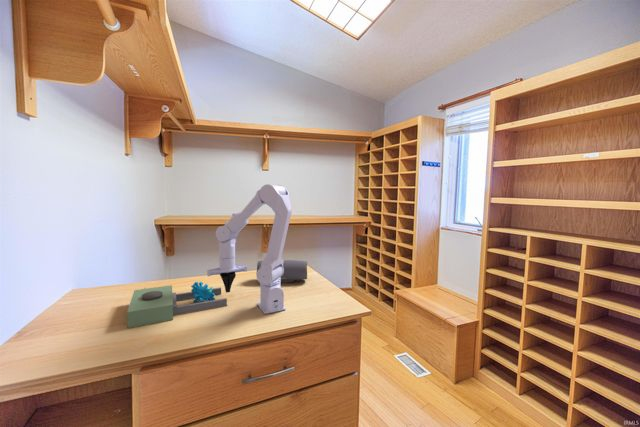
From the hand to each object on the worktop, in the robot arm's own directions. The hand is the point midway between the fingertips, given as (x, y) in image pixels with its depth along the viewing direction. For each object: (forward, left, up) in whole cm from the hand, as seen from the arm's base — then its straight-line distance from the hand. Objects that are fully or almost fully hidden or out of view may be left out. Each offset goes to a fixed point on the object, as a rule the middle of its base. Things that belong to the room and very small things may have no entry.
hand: (227, 291), depth 105 cm
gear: (+1, +8, -3) cm, 9 cm away
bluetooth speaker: (+10, -26, -3) cm, 28 cm away
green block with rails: (0, +16, -3) cm, 16 cm away
